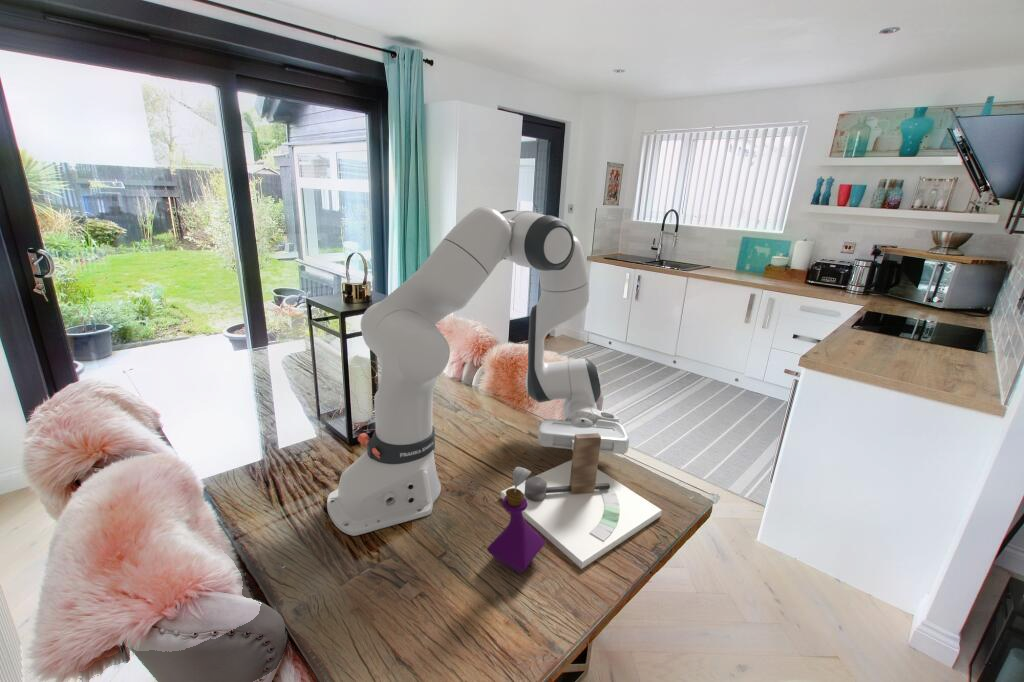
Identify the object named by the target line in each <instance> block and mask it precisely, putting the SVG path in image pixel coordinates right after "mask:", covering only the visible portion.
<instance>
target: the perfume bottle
mask: <svg viewBox="0 0 1024 682" xmlns="http://www.w3.org/2000/svg"><path fill="white" fill-rule="evenodd" d="M531 474H532V471H531V470H529V469H527V468H525V467H521V466H516V467H515V468H514V469H513V472H512V481H513V484H514V485H515V488H511V489H508V490H507V491H506V496H505V498H504V499H502V508H503V509H504V510H505V511H507V512H509V513H510V521H509V522H508V524H507V526H506V527H505V528H504V529H503V530H502V531H501V532H500V534H499V535H498V536H496V538H495V539H494V540H493V541H491V543H490V545H488V547H487V548H486V551H487V552H488V553H489V554H490V555H491V556H492V557H493V558H494V559H495V560H496V561H497V562H498V563H499V564H501V565H502V566H505V567H506V568H508V569H510V570H512V571H514V572H516V573H517V574H521V573H522V572H524V571H525V570H526V569H527V568H528V567H529V565H530V564H531V563H532V561H533V560H534V558H535V557H536V556H537V555H538V554H539V552H540V551H541V549H542V548H543V547H544V546H545V544H546V543H547V541H546V539H544V538H543V537H542V536H541V535H540V534H539V533H538V532H537V531H535V529H534V528H533V527H532V526H531V525H529V524H528V523H527V522H528V521H527V520H526V519H525V518H524V517H523V514H522V511H524V510H525V509H526V507H527V501H526V499H525V498H524V494H523V493H522V492H521V491H520V490H518V489H516V488H517V486H519V485H520V484H522V483H523V482H524V481H525V480H527V479H528V478H529V476H530V475H531Z"/></svg>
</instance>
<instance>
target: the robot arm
mask: <svg viewBox="0 0 1024 682" xmlns="http://www.w3.org/2000/svg"><path fill="white" fill-rule="evenodd" d="M503 260H505V261H506V260H507V261H509V262H511V263H514V264H516V265H518V266H520V267H524V268H529V269H535V270H537V271H538V276H539V277H538V279H539V285H540V287H539V288H540V295H539V299H538V302H537V303H536V304H535V305H533V306H532V307H531V309H530V312H529V313H530V314H529V321H528V340H527V341H528V343H527V344H528V345H527V347H528V349H527V369H526V374H525V389H526V392H527V395H528V397H530V398H531V399H533V400H534V401H535V402H537V403H546V402H550V401H551V402H552V401H554V400H562V399H563V401H562V402H563V403H562V414H563V415H562V419H556V418H555V419H553V418H546V419H543V420H541V421H539V422H538V424H537V429H538V436H537V443H538V445H540V446H541V447H545V448H546V447H548V448H556V449H566V450H571V451H572V452H573V447H574V437H575V434H593V433H599V435H600V436H601V443H600V451H599V453H608V454H616V455H617V454H619V455H625V454H627V452H628V451H629V443H630V439H629V435H628V432H627V431H626V428H625V427H624V426H623V425H622V424H621V423H620V417H619V416H618V415H615V414H612V413H608V412H604V411H601V410H599V409H598V407H597V406H598V405H597V402H598V401H599V400H600V399H599V398H601V393H602V391H601V382H600V378H599V374H598V373H599V372H598V369H597V366H596V365H595V364H594V363H593V362H592V361H591V360H590V359H588V358H575V359H567V360H566V359H565V360H559V361H550V362H549V361H545V360H544V358H545V356H544V355H545V351H544V350H545V339H546V337H547V336H548V335H549V334H550V333H551V332H552V331H553V330H555V329H557V328H558V327H561V326H563V325H565V324H567V323H570V322H571V321H573V320H575V319H577V318H578V317H579V316H580V315H581V314H582V313H583V312H584V310H585V309H586V308H587V306H588V304H589V301H590V278H589V270H588V265H587V262H586V257H585V253H584V250H583V246H582V243H581V241H580V240H579V238H578V237H577V236H575V235H574V234H573V231H572V229H571V227H570V226H569V225H568V223H567V222H566V221H564V220H562V218H559V217H557V216H554V215H545V214H542V213H538V212H535V211H531V210H515V209H507V210H503V211H498V210H497V209H494V208H492V207H491V206H489V207H488V206H479V207H476V208H474V209H472V210H471V211H470V212H469V213H467V214H466V216H464V217H463V218H462V219H461V220H460V221H459V222H458V223H457V224H455V226H453V228H452V229H451V230H450V231H448V232H447V234H446V236H444V238H443V239H442V240H441V242H439V244H438V245H437V246H436V247H435V249H434V250H433V251H432V252H431V254H430V255H429V256H428V258H427V259H426V260H425V261H424V262H423V263H422V264H421V266H420V267H418V269H417V270H416V271H415V272H414V273H413V274H412V275H411V276H409V278H407V279H406V280H405V281H404V282H403V283H402V284H401V285H399V286H398V287H396V289H395V290H393V291H392V292H391V293H390V294H388V295H387V296H386V297H384V299H382V300H381V301H378V302H375V303H374V304H372V305H370V306H369V307H367V309H366V310H365V311H364V313H363V314H362V316H361V319H360V330H361V335H362V338H363V340H364V343H365V345H366V346H367V348H368V349H370V350H369V351H372V353H373V354H375V356H376V357H377V358H378V362H379V365H380V378H379V380H380V381H379V386H378V390H377V391H376V392H375V394H374V397H373V402H374V421H375V430H374V432H373V434H372V436H371V437H370V436H369V435H368V434H367V433H365V432H363V433H359V436H358V437H357V441H358V442H359V443H360V445H361V446H363V447H366V451H365V452H364V453H362V455H360V457H358V458H357V460H355V461H354V462H352V464H350V466H348V467H347V468H346V469H345V470H344V471H343V472H342V474H340V479H339V483H338V488H337V489H335V490H333V491H331V492H330V493H329V494H328V496H327V499H326V508H327V509H326V510H327V513H328V516H329V518H330V520H331V521H332V523H333V524H334V525H335V527H337V528H338V529H339V530H340V531H341V532H343V534H344V533H345V534H346V535H349V536H352V537H353V536H354V537H355V536H359V535H363V534H368V533H370V532H374V531H378V530H381V529H384V528H388V527H391V526H396V525H398V524H402V523H405V522H410V521H413V520H416V519H419V518H423V517H426V516H430V514H432V512H433V507H434V503H435V501H436V500H437V499H438V498H439V496H440V494H441V490H442V485H441V481H440V479H439V475H438V472H437V467H436V461H435V452H434V451H435V448H436V435H435V434H436V433H435V431H436V430H435V426H434V425H433V420H434V419H433V409H434V408H433V405H434V403H433V401H434V392H435V386H436V382H437V379H438V377H440V375H441V374H443V372H444V370H446V368H447V366H448V364H449V360H450V356H451V350H450V345H449V342H448V340H447V339H446V338H445V336H444V334H443V333H442V332H441V330H440V329H439V328H438V326H437V325H438V324H439V322H441V321H442V320H444V319H445V318H446V317H447V316H449V315H451V314H453V313H455V312H459V311H460V310H463V308H465V307H466V306H467V305H468V303H469V302H470V301H471V299H472V298H473V297H474V295H476V293H477V292H478V291H479V289H480V288H481V286H482V285H483V284H484V283H485V282H486V280H487V279H488V277H490V275H491V274H492V272H493V271H494V270H495V268H496V267H497V265H498V264H499V263H500V262H501V261H503Z"/></svg>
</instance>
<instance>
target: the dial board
mask: <svg viewBox="0 0 1024 682" xmlns="http://www.w3.org/2000/svg"><path fill="white" fill-rule="evenodd" d="M571 466H572V459H569V460H568V461H566V462H563V463H561V464H559V465H557V466H555V467H553V468H550V469H548V470H546V471H543V472H541V473H538V474H537V475H534V476H533V477H540V478H542V479H544V480H545V481H546V483H547V487H560V486H569V485H570V476H571ZM526 480H527V479H525V481H526ZM525 481H524V482H523V483H522V484H520V485H519V486H517V488H516V489H518V490H520V491H521V492H522V493H523V494H524V498H525V499H526V501H527V507H526V509H525V510H524V511H522V514H523V517H524V519H525V521H526V522H528V523H529V524H530V526H533V527H534V528H535V529H536V530H537V531H538V532H540V534H541V535H543V536H544V537H545V538H546V539H547V540H548V541H549V542H550V543H551V544H553V545H554V546H555V547H556V548H557V549H559V551H560V552H562V553H563V554H564V555H565V556H567V558H568V559H570V560H571V561H572V562H573V563H575V565H576V566H578V567H579V568H580V569H581V570H582V569H584V568H585V567H587V566H588V565H590V564H591V563H593V562H594V561H596V560H597V559H598V558H600V557H602V556H603V555H605V554H606V553H608V552H609V551H611V550H613V549H614V548H616V547H617V546H618V545H620V544H622V543H623V542H624V541H626V540H627V539H629V538H631V537H632V536H634V535H635V534H636V533H638V532H639V531H641V530H642V529H644V528H645V527H647V526H649V525H650V524H651V523H653V522H655V521H656V520H657V519H659V518H660V517H661V516H662V513H663V512H662V511H663V509H660V507H658V506H656V505H655V504H653V503H651V502H650V501H649V500H647V499H645V498H644V497H642V496H641V495H639V494H637V493H636V492H635V491H633V490H631V489H630V488H628V487H627V486H625V485H623V484H622V483H621V482H619V481H617V480H616V479H614V478H612V477H611V476H609V475H608V474H606V473H604V472H603V471H601V470H600V469H598V468H597V475H596V483H595V484H602V483H609V485H610V489H597V490H595V491H594V492H590V493H576V494H571V492H557V493H546V497H545V498H544V499H543V500H540V501H532V500H529V499H528V498H527V497H526V496H525ZM511 488H515V484H514V485H512V486H510V487H508V488H506V489H504V490H501V491H500V498H501V499H502V500H503V499H504V498H505V496H506V491H507V490H508V489H511Z"/></svg>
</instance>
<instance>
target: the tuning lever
mask: <svg viewBox="0 0 1024 682" xmlns="http://www.w3.org/2000/svg"><path fill="white" fill-rule="evenodd" d="M600 443H601V436H600V435H599V433H593V434H575V437H574V447H573V451H572V458H571V460H572V466H571V476H570V485H569V486H560V487H547V483H546V481H545V480H544V479H542V478H540V477H534V476H531V477H527V478H526V479H525V480H526V481H525V496H526V497H527V498H528V499H529V500H532V501H540V500H543V499H544V498H545V497H546V493H557V492H571V494H576V493H590V492H594V491H595V490H597V489H610V485H609V483H602V484H595V483H596V475H597V469H598V467H599V458H600V452H599V451H600Z"/></svg>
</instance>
